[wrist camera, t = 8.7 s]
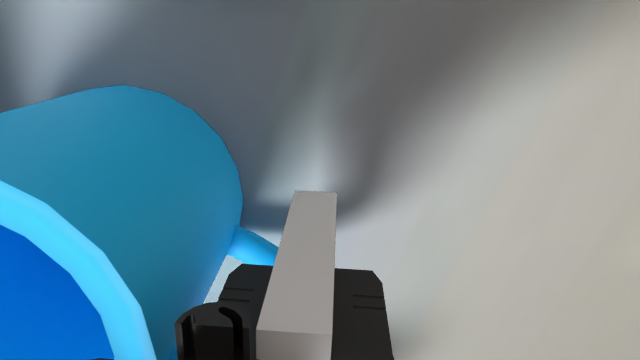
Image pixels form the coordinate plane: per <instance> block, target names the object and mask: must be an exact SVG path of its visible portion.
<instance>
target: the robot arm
mask: <svg viewBox="0 0 640 360" xmlns="http://www.w3.org/2000/svg"><path fill="white" fill-rule="evenodd" d="M336 208H337V193H332V192H315V191H298V190H295V191H294V195H293V199H292V202H291V206H290V209H289V213H288V216H287V220H286V224H285V227H284V231H283V234H282V238H281V242H280V245H279V249H278V252H277V256H276V260H275V263H274V266H270V265H255V264H241V265H240V266H239V267H237V268H236V269H235V270H234V271H233V272H231V273H230V274H229V276H228V278H227V280H226V283H225V285H224V287H223V290H222V292H221V294H220V296H219V300H218V301H217V302H214V303H206V304H202V305H199V306H195V307H193V308H191V309H190V310H188V311H186V312H185V313H183V314H182V315H181V316H180V317H179V318H178V319H177V320H176V322H175V323H174V325H175V335H176V346H177V356H178V360H394V358H393V354H392V348H391V341H390V334H389V327H388V320H387V313H386V307H385V300H384V293H383V286H382V282H381V281H380V280H379V279H378V277H377V276H376V275H375V274H374V272H373V271H369V270H353V269H338V268H334V267H335V238H336ZM91 360H113V359H104V358H97V359H91Z"/></svg>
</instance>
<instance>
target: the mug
mask: <svg viewBox="0 0 640 360" xmlns="http://www.w3.org/2000/svg"><path fill="white" fill-rule="evenodd" d="M242 206H243V196H242V190H241V185H240V179H239V174H238V169H237V167H236V165H235V163H234V161H233V159H232V157H231V155H230V154H229V152H228V150H227V148H226V146H225V144H224V142H223V140H222V139H221V137H220V136H219V135H218V134H217V133H216V132H215V131H214V130H213V129H212V128H211V127H210V126H209V125H208V124H207V123H206V122H205V121H204V120H203V119H202V118H201V117H200V116H199V115H198V114H197V113H196V112H195V111H193V110H192V109H190V108H188V107H186V106H184V105H183V104H181V103H179V102H177V101H175V100H174V99H172V98H170V97H168V96H166V95H165V94H163V93H160V92H156V91H151V90H146V89H142V88H137V87H133V86H128V85H120V86H110V87H101V88H91V89H87V90H83V91H80V92H76V93H72V94H68V95H65V96H61V97H57V98H54V99H50V100H46V101H42V102H39V103H35V104H31V105H27V106H24V107H20V108H16V109H13V110H9V111H5V112H1V113H0V360H91V359H97V358H104V359H113V360H178V356H177V346H176V335H175V325H174V323H175V322H176V320H177V319H178V318H179V317H180V316H181V315H182V314H183V313H185V312H186V311H188V310H190V309H191V308H193V307H195V306H199V305H202V304H203V302H204V300H205V298H206V296H207V294H208V292H209V289H210V287H211V285H212V283H213V281H214V279H215V277H216V275H217V273H218V271H219V269H220V267H221V265H222V263H223V261H224V259H225V257H226V255H230V256H232V257H234V258H237V259H239V260H241V261H242V262H244V263H246V264H255V265H270V266H274V263H275V260H276V256H277V252H278V249H279V247H277V246H275V245H274V244H272V243H270V242H269V241H267V240H265V239H264V238H262V237H260V236H259V235H257V234H255V233H254V232H252V231H249V230H247V229H245V228H242V227H240V226H239V224H240V218H241V212H242Z"/></svg>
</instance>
